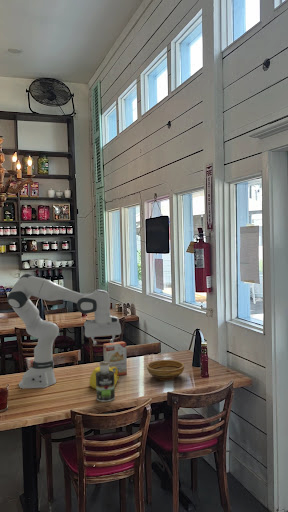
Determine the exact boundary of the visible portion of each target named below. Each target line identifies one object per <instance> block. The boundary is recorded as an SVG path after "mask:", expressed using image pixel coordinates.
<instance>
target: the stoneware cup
mask: <svg viewBox="0 0 288 512" xmlns="http://www.w3.org/2000/svg"><path fill="white" fill-rule="evenodd" d="M99 367H100V374H102V375H106V374H109V361H104V360H103V361H100V362H99Z"/></svg>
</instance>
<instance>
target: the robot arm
mask: <svg viewBox="0 0 288 512" xmlns="http://www.w3.org/2000/svg"><path fill="white" fill-rule="evenodd" d="M32 296H33V297H35V298H37V299H41V300H42V301H43V300H44V301H49V302H53V301H60V300H63V301H69V302H72V303H75V304H76V308H77V310H78V312H80V313H81V314H83V315H84V314H85V315H87V314H88V315H89V314H92V313H94V319H87V320H85V321H84V323H83V327H84V336H85V337H86V338H90V339H91V340H92V341H93V345H94V346H95V345H97V341H96V340H94V339H95V338H96V337H107V336H109V337H110V336H111V337H112V338H111V339H110V340H109V343H114V340H115V338H116V336H118V335H121V334H122V326H121V323H120V319H119V317H117V316H115V315H112V314H111V311H110V308H111V299H110V298H111V296H110V294H109V292H108V291H107V290H104V289H95V290H94V291H92V292H91V293H83V292H82V293H81V292H79V291H76V290H72V289H69V288H67V287H64V286H62V285H60V284H58V283H56V282H54V281H51V280H49V279H46V278H43V277H39V276H34V275H32V274H29V273H25V274H23V275H21V276H20V277H19V279H18V280H17V281H16V283H14V285H13V286H12V289H11V290H10V292H9V293H8V295H7V297H6V302H7V304H8V305H10V306H11V308H12V309H13V311H14V312H15V313H16V314H17V316H18V317H19V318H20V320H21V321H22V322H23V323H24V325H25V330H26V333H27V335H29V336H31V337H33V338H37V344H36V345H35V347H34V348H33V356H34V357H33V360H30V368H28V369H27V370H26V371H25V373H23V375H22V379H21V380H20V382H19V383H18V388H19V387H20V389H21V388H22V390H23V389H24V388H26V389H40V388H41V389H45V388H48V387H49V386H53V385H54V384H56V382H57V379H56V377H55V376H56V375H55V371H54V368H55V363H54V358H53V346H54V342H55V340H56V338H57V337H58V336H59V334H60V327H59V326H58V325H57V323H54V322H52V321H49V320H44V319H42V318H41V316H40V310H39V309H38V307H37V306H36V305H35V304H34V303H33V301H32V300H31V299H30V298H31V297H32Z"/></svg>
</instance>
